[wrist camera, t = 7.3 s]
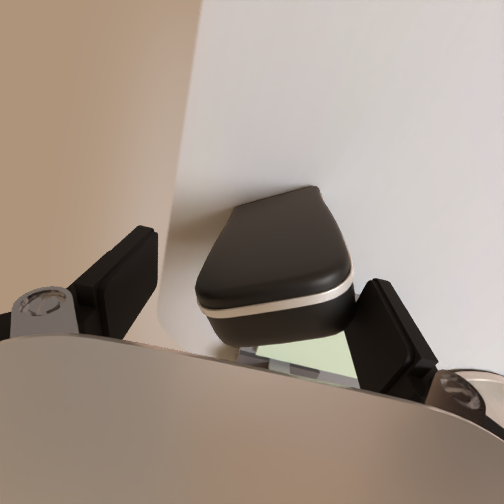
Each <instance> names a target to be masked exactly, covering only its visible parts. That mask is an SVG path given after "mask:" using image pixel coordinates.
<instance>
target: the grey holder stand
mask: <svg viewBox="0 0 504 504" xmlns="http://www.w3.org/2000/svg"><path fill="white" fill-rule="evenodd" d="M359 296H360V295H358V294H355V300H356V301H357V299H358V298H359ZM236 363H241V364H246V365H251V366H255V367H260V368H265V369H270V370H274V371H279V372H284V373H289V374H293V375H298V376H303V377H307V378H312V379H317V380H321V381H326V382H331V383H335V384H340V385H345V386H349V387H354V388H358V389H360V386H359V382H358V379H357V375H356V372H355V368H354V365H353V361H352V358H351V354H350V351H349V347H348V344H347V340H346V337H345V333H344V331H342V332H340V333H338V334H336V335H333V336H329V337H324V338H318V339H311V340H304V341H297V342H291V343H284V344H274V345H265V346H255V347H239V351H238V354H237V358H236Z"/></svg>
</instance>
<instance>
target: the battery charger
mask: <svg viewBox="0 0 504 504" xmlns="http://www.w3.org/2000/svg"><path fill="white" fill-rule="evenodd" d="M353 279H354V269H353V263H352V258H351V255H350V253H349V250H348V247H347V245H346V242H345V240H344V237H343V235H342V233H341V231H340V229H339V227H338V225H337V223H336V221H335V219H334V217H333V216H332V214H331V212H330V210H329V209H328V207H327V206H326V204H325V203H324V200H323V197H322V194H321V193H320V190H319V188H318V187H317V186H312V187H308V188H304V189H300V190H297V191H293V192H289V193H285V194H281V195H278V196H274V197H270V198H267V199H263V200H259V201H256V202H252V203H248V204H245V205H241V206H238V207H235V208H234V209H233V212H232V214H231V216H230V218H229V220H228V222H227V224H226V226H225V227H224V229H223V230H222V232H221V234H220V235H219V237H218V239H217V240H216V242H215V244H214V246H213V247H212V249H211V251H210V253H209V255H208V257H207V259H206V261H205V263H204V265H203V267H202V269H201V271H200V273H199V276H198V278H197V281H196V285H195V291H196V295H197V303H198V305H199V307H200V309H201V311H202V312H203V314H205V315H206V316H207V318H208V320H209V322H210V324H211V326H212V328H213V329H214V331H215V333H216V334H217V336H218V337H219V338H220V339H221V340H222V341H223V342H224V343H225V344H227V345H230V346H233V347H255V346H265V345H274V344H284V343H291V342H297V341H304V340H311V339H318V338H324V337H329V336H333V335H336V334H338V333H340V332H342V331H344V330H345V329H346V328H347V327H348V326H349V325H350V324H351V322H352V320H353V318H354V314H355V311H356V300H355V292H354V285H353Z"/></svg>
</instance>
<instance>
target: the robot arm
mask: <svg viewBox="0 0 504 504" xmlns="http://www.w3.org/2000/svg"><path fill="white" fill-rule="evenodd" d="M157 274H158V233H157V232H154V229H153V228H149V227H145V226H141V225H140V226H137V227H136V228H135V229H134V230H133V231H132V232H131V233H130V234H128V235H127V236H126V237H125V238H124V239H123V240H122V241H121V242H120V243H118V244H117V245H116V246H115V247H114V248H113V249H112V250H111V251H108V252H107V253H106V254H105V255H104V256H102V257H101V258H100V259H99V260H98V261H97V262H96V263H95V264H93V265H92V266H91V267H90V268H89V269H88V270H87V271H86V272H85V273H83V274H82V275H81V276H80V277H79V278H78V279H77V280H75V281H74V282H73V283H72V284H71V285H70V286H69V287H68V288H66V289H65V288H62V287H54V286H50V287H42V288H38V289H35V290H32V291H30V292H28V293H25V294H24V295H22V296H21V297H19V298H18V299H17V300H16V301H15V303H14V304H13V307H12V312H8V313H4V314H1V315H0V504H504V377H503V376H501V375H496V374H492V373H488V372H478V371H459V372H452V371H449V370H443V369H442V370H437V368H436V366H435V365H436V364H437V363H438V362H439V361H438V360H437V358H436V357H435V355H434V353H433V352H432V350H431V348H430V347H429V345H428V344H427V342H426V340H425V339H424V337H423V335H422V334H421V332H420V331H419V329H418V327H417V326H416V324H415V322H414V321H413V319H412V317H411V316H410V314H409V313H408V311H407V309H406V308H405V306H404V304H403V303H402V301H401V300H400V298H399V296H398V295H397V293H396V291H395V290H394V288H393V287H392V285H391V283H390V282H389V281H386V280H381V279H377V278H374V279H373V280H372V281H371V280H370V281H368V282H367V284H366V285H365V287H364V289H363V291H362V292H361V294H360V296H359V298H358V299H357V301H356V311H355V314H354V318H353V320H352V322H351V324H350V325H349V326H348V327H347V328H346V329H345V330H344V333H345V337H346V340H347V344H348V347H349V351H350V354H351V358H352V361H353V365H354V368H355V372H356V375H357V379H358V382H359V386H360V389H358V388H354V387H349V386H345V385H340V384H335V383H331V382H326V381H321V380H317V379H312V378H307V377H303V376H298V375H293V374H289V373H284V372H279V371H274V370H270V369H265V368H260V367H255V366H251V365H246V364H241V363H236V362H231V361H227V360H222V359H217V358H212V357H207V356H202V355H197V354H192V353H188V352H183V351H178V350H173V349H168V348H163V347H158V346H152V345H147V344H142V343H137V342H131V341H126V340H122V339H123V338H124V336H125V335H126V333H127V332H128V330H129V328H130V327H131V326H132V324H133V322H134V321H135V319H136V318H137V316H138V315H139V313H140V312H141V310H142V309H143V307H144V306H145V304H146V303H147V301H148V299H149V298H150V296H151V295H152V293H153V292H154V290H155V288H156V286H157V280H158V275H157Z"/></svg>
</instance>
